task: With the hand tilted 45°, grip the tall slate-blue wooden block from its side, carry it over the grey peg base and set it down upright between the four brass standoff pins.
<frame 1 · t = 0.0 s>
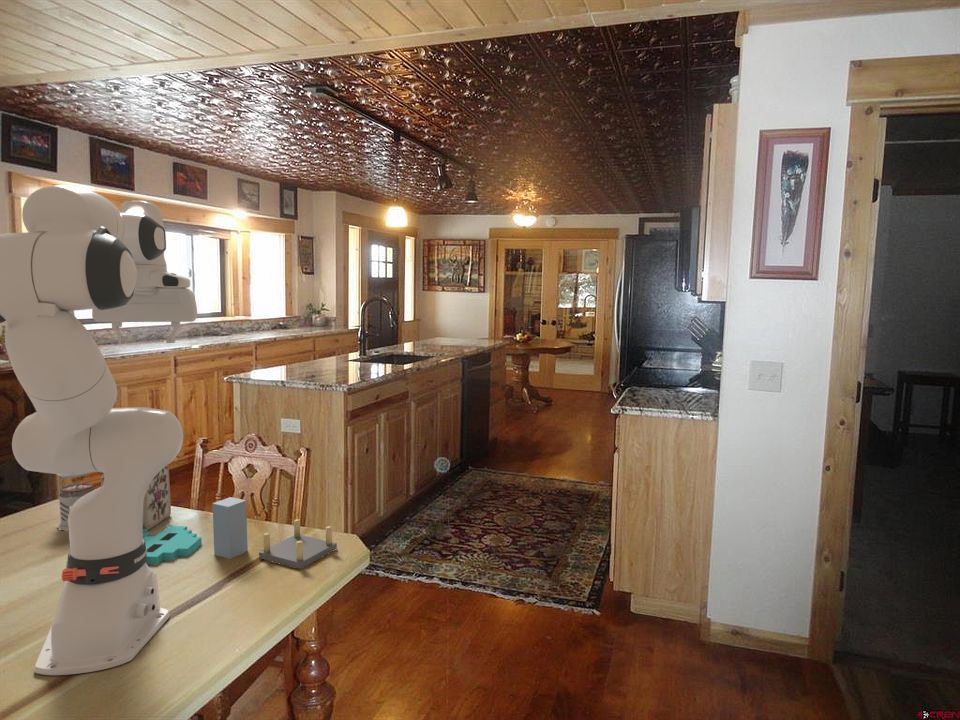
hand: (147, 343, 136), 48 cm above the table, tool pointing down, fingers open, 8 cm apart
slate block: (231, 552, 142), on the table
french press: (77, 523, 160), on the table
decorative jar: (138, 523, 160), on the table
alien figure: (152, 552, 144), on the table
grey peg base: (298, 553, 142), on the table
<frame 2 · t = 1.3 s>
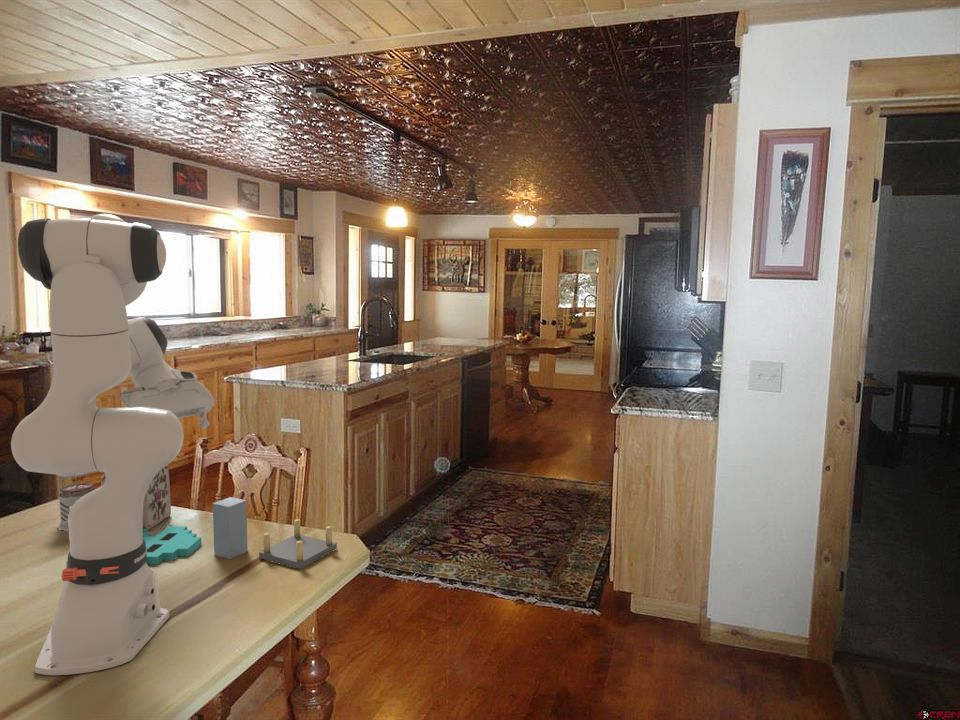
hand: (188, 430, 145), 27 cm above the table, tool tilted 45°, fingers open, 8 cm apart
nothing on the table moved.
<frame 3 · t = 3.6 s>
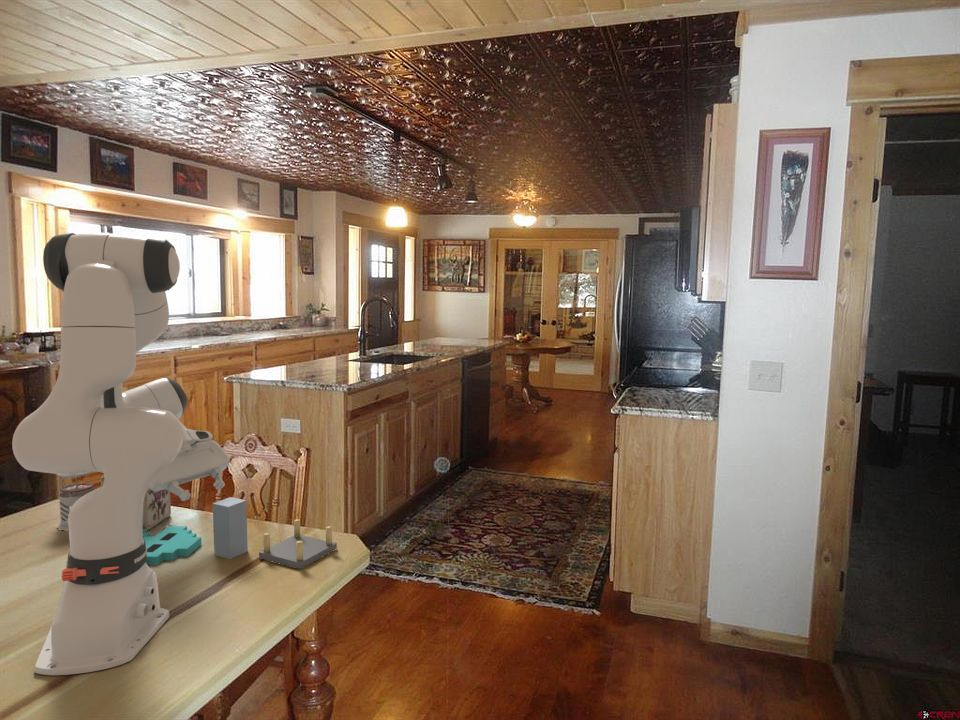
hand: (204, 493, 144), 13 cm above the table, tool tilted 45°, fingers open, 8 cm apart
nothing on the table moved.
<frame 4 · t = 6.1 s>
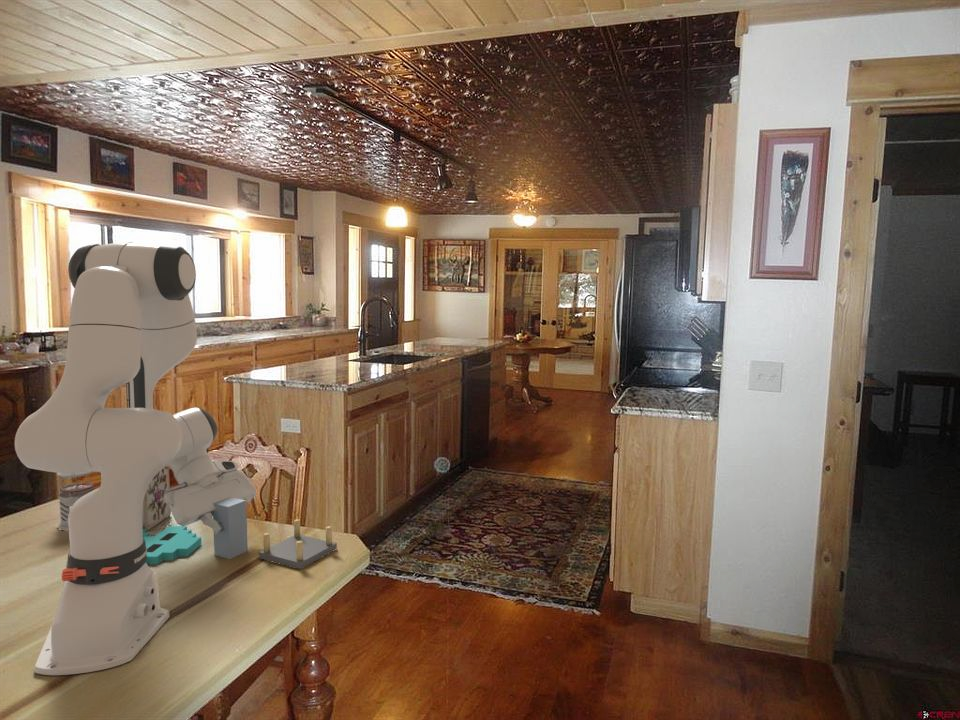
hand: (232, 526, 141), 6 cm above the table, tool tilted 45°, fingers closed on slate block, 5 cm apart
slate block: (231, 552, 142), on the table, touching gripper
everything else where it was.
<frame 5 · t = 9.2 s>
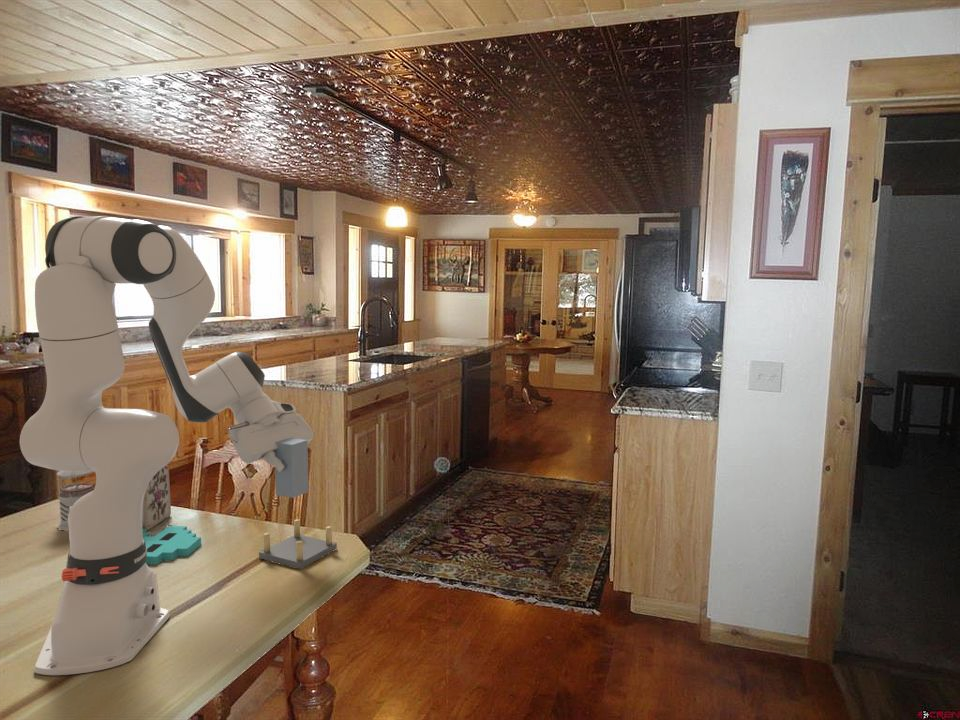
hand: (294, 465, 140), 21 cm above the table, tool tilted 45°, fingers closed on slate block, 5 cm apart
slate block: (292, 493, 141), point 14 cm above the table, touching gripper
everything else where it was.
when the fingers open (10 cm above the table, at t = 12.3 s): slate block drops 2 cm, resting on grey peg base.
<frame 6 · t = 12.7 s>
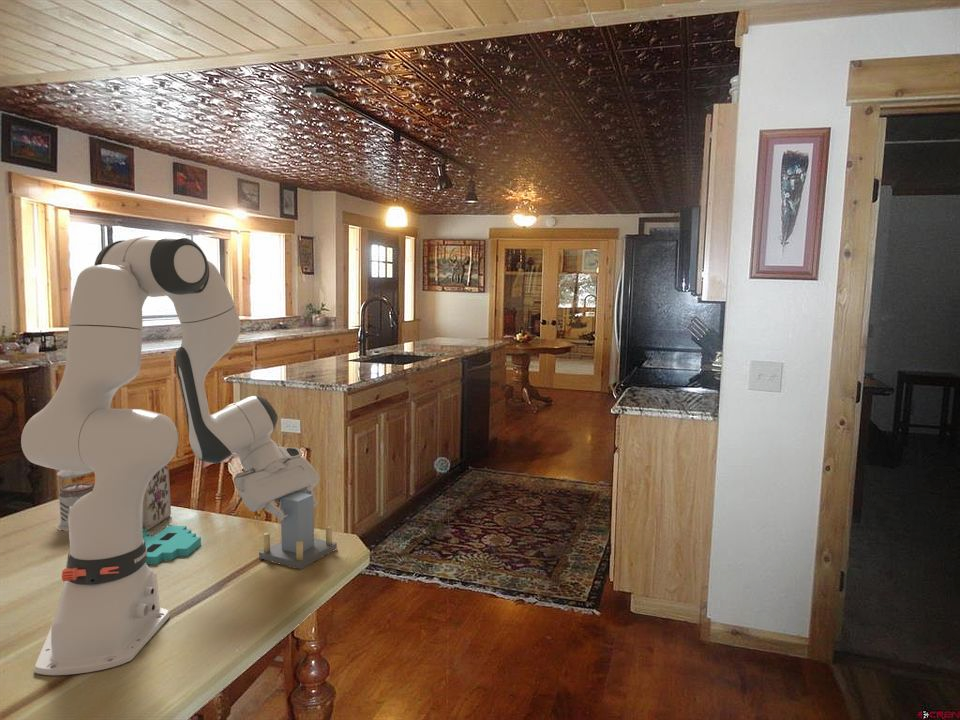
hand: (299, 512, 141), 10 cm above the table, tool tilted 45°, fingers open, 8 cm apart
slate block: (298, 547, 142), point 2 cm above the table, touching grey peg base
everything else where it was.
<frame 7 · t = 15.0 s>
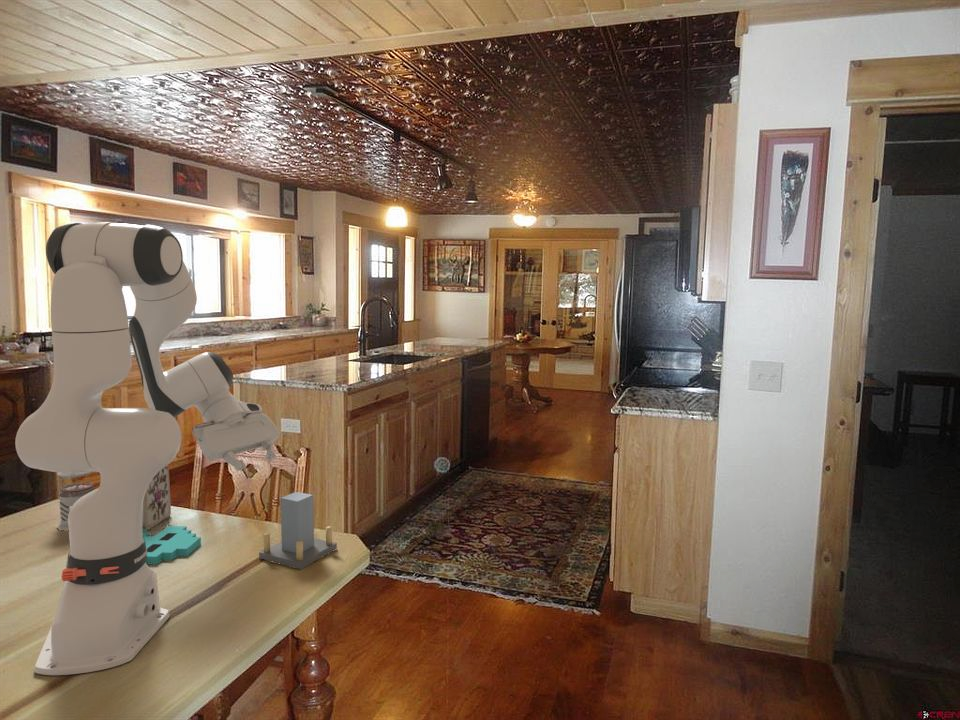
hand: (257, 463, 145), 19 cm above the table, tool tilted 45°, fingers open, 8 cm apart
nothing on the table moved.
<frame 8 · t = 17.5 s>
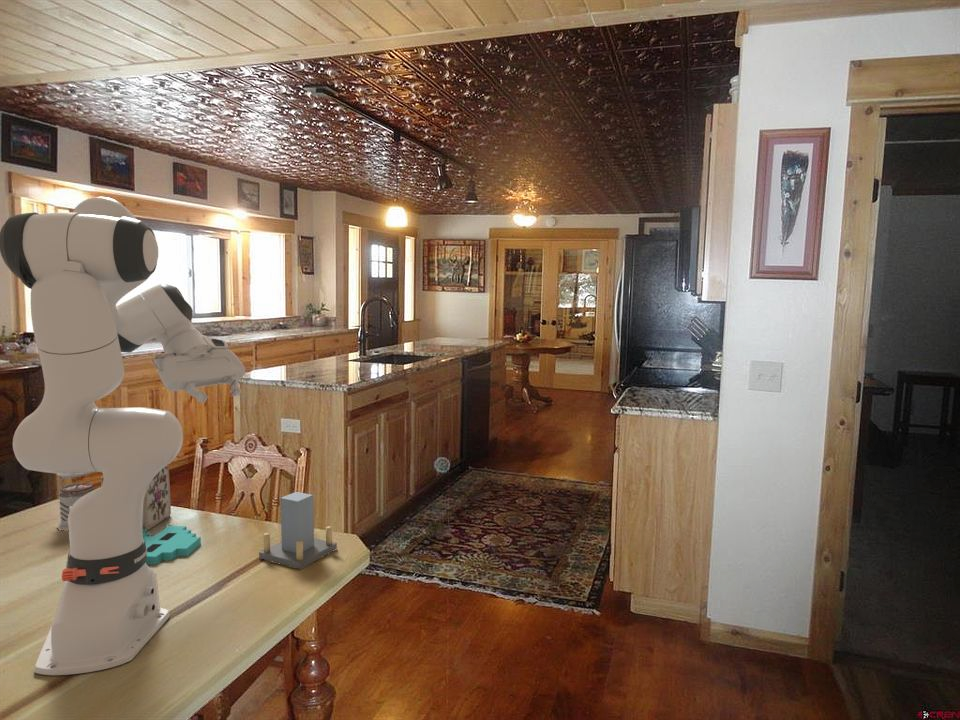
hand: (221, 397, 142), 35 cm above the table, tool tilted 45°, fingers open, 8 cm apart
nothing on the table moved.
at the end: slate block 0.1 cm off-centre on the grey peg base, point 1.5 cm above the grey peg base's base; slate block tilted 0°; the gripper is holding nothing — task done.
